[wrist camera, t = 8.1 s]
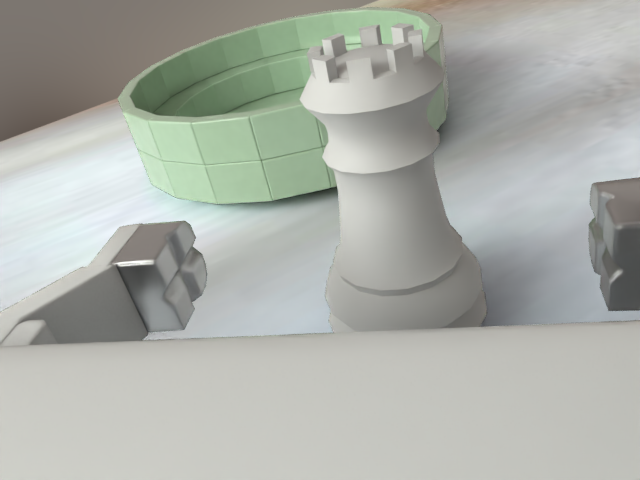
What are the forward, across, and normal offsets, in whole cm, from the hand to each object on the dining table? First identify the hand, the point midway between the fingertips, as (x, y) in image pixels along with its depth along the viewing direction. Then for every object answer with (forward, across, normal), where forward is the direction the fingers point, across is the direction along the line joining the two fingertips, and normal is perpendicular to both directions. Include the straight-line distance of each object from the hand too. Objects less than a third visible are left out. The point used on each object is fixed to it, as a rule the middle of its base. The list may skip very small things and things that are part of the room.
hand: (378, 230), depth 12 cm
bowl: (+17, +6, +5) cm, 19 cm away
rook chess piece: (+3, 0, +5) cm, 6 cm away
